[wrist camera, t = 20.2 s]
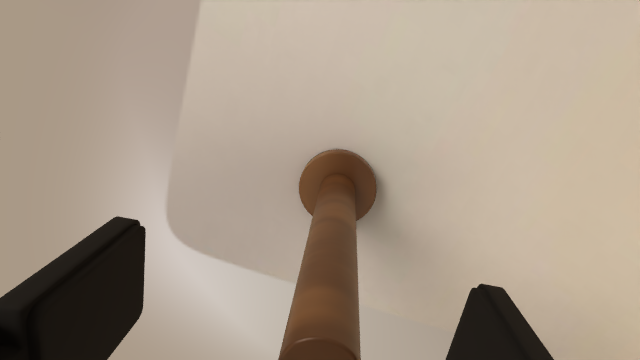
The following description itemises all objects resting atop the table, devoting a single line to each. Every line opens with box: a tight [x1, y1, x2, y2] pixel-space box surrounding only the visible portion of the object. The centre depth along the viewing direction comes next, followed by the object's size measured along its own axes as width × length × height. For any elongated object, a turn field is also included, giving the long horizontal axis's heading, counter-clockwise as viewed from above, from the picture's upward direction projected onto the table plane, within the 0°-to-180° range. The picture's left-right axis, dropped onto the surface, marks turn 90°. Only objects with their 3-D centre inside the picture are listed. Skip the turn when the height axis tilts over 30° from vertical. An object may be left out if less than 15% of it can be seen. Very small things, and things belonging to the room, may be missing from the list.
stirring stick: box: [278, 149, 376, 360], centre depth 15 cm, size 4×4×14 cm
